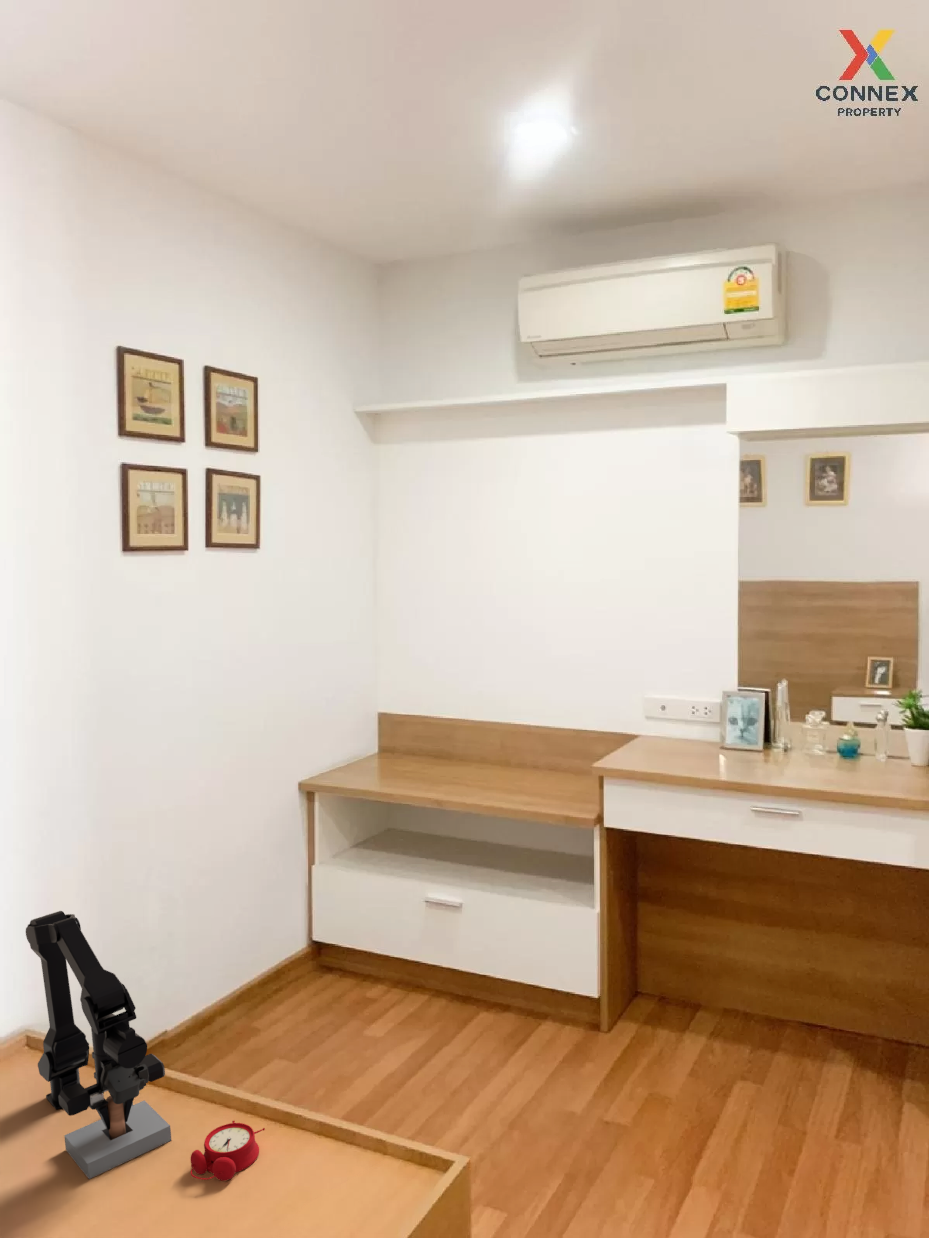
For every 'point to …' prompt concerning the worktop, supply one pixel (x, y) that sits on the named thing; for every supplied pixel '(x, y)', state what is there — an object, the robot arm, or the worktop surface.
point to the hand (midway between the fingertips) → (116, 1124)
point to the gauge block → (117, 1140)
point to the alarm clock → (226, 1151)
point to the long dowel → (116, 1119)
